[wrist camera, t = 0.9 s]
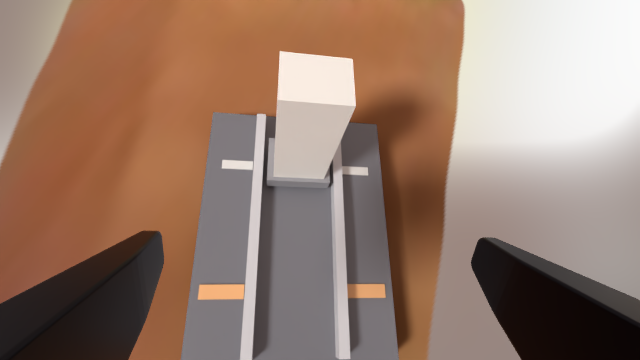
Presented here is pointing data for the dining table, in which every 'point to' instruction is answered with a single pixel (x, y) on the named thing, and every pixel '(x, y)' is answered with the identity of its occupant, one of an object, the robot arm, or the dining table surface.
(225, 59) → the dining table surface
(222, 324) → the grey slider track base
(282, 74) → the fader
